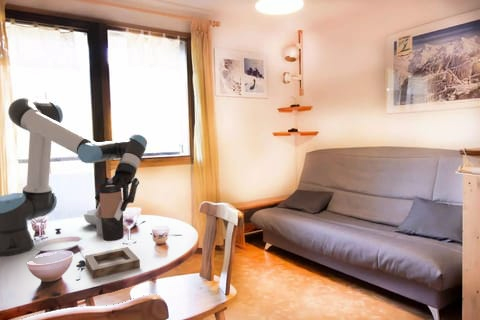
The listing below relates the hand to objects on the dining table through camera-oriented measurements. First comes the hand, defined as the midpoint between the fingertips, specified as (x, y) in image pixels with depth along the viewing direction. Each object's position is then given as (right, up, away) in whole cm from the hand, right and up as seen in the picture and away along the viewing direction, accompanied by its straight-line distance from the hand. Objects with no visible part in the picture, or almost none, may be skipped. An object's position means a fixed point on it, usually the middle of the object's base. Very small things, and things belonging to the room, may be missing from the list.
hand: (106, 217), depth 123 cm
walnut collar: (0, -19, +5) cm, 19 cm away
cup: (-18, -15, +46) cm, 52 cm away
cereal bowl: (-26, -14, +61) cm, 68 cm away
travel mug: (+1, -8, +4) cm, 9 cm away
